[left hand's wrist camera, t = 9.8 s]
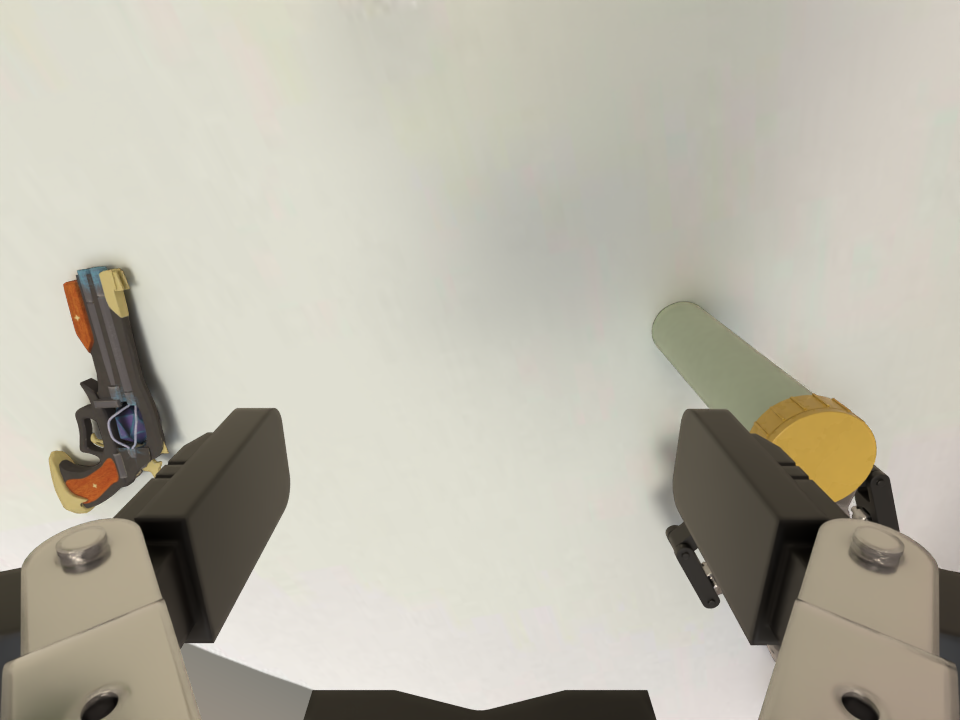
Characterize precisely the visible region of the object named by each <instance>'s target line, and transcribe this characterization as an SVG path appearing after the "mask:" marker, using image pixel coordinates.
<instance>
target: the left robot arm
mask: <svg viewBox="0 0 960 720" xmlns="http://www.w3.org/2000/svg"><path fill="white" fill-rule="evenodd" d="M289 493H290V474H289V467H288V460H287V453H286V446H285V439H284V432H283V425H282V419H281V415H280V413H279V411H278V410H277V409H276V408H237V409H235V410H234V411H233V412H232V413H231V414H230V415H229V416H228V417H227V418H226V419H225V420H224V421H223V422H222V424H221V425H220V426H219V427H218V428H217V429H216V430H215V431H214V432H213V433H206V434H204V435H202V436H201V437H199V438H197V439H195V440H193V441H192V442H190V443H188V444H186V445H185V446H183V447H182V448H181V449H180V450H179V451H178V452H177V453H176V454H175V455H174V456H173V457H172V458H171V459H170V460H169V461H168V465H165V466H164V467H163V468H162V469H161V470H160V471H159V472H158V473H157V474H156V475H155V478H152V479H151V480H150V481H149V482H148V483H147V484H146V485H145V486H144V487H143V488H142V489H141V490H140V491H139V492H138V493H137V494H136V495H135V496H134V497H133V498H132V499H131V500H130V501H129V502H128V503H127V504H126V505H125V506H124V507H123V508H122V509H121V510H120V511H119V512H118V513H117V514H116V515H115V516H114V517H113V518H108V519H100V520H95V521H90V522H86V523H83V524H80V525H77V526H74V527H71V528H69V529H67V530H64V531H62V532H60V533H58V534H56V535H54V536H52V537H51V538H49V539H47V540H46V541H44V542H43V543H42V544H40V545H39V546H38V547H36V548H35V549H34V550H33V551H32V552H31V553H30V554H29V555H28V557H27V558H26V559H25V561H24V563H23V565H22V568H17V569H12V570H7V571H2V572H0V720H202V719H201V715H200V712H199V709H198V706H197V702H196V699H195V696H194V693H193V690H192V686H191V683H190V680H189V677H188V674H187V670H186V667H185V664H184V661H183V657H182V654H181V651H180V649H181V647H182V646H183V644H184V643H214V642H215V640H216V638H217V636H218V634H219V632H220V630H221V628H222V627H223V625H224V623H225V621H226V619H227V617H228V615H229V613H230V612H231V610H232V608H233V606H234V604H235V602H236V600H237V598H238V597H239V595H240V593H241V591H242V589H243V587H244V585H245V583H246V582H247V580H248V578H249V576H250V574H251V572H252V570H253V568H254V567H255V565H256V563H257V561H258V559H259V557H260V555H261V553H262V552H263V550H264V548H265V546H266V544H267V542H268V540H269V539H270V537H271V535H272V533H273V531H274V529H275V527H276V525H277V524H278V522H279V520H280V518H281V516H282V514H283V512H284V510H285V508H286V506H287V503H288V499H289ZM673 494H674V500H675V504H676V507H677V509H678V512H679V513H680V515H681V517H682V519H683V521H684V523H685V524H686V526H687V528H688V530H689V532H690V534H691V536H692V537H693V539H694V541H695V543H696V545H697V547H698V549H699V550H700V552H701V554H702V556H703V558H704V560H705V561H706V563H707V565H708V567H709V569H710V571H711V573H712V574H713V576H714V578H715V580H716V582H717V584H718V586H719V587H720V589H721V591H722V593H723V595H724V597H725V598H726V600H727V602H728V604H729V606H730V608H731V610H732V611H733V613H734V615H735V617H736V619H737V621H738V623H739V624H740V626H741V628H742V630H743V632H744V634H745V636H746V637H747V639H748V641H749V643H750V645H781V648H780V651H779V654H778V657H777V661H776V664H775V667H774V670H773V673H772V677H771V680H770V683H769V686H768V690H767V693H766V696H765V699H764V702H763V706H762V709H761V712H760V715H759V719H758V720H960V573H958V572H953V571H948V570H943V569H939V568H938V565H937V563H936V561H935V559H934V558H933V557H932V555H931V554H930V553H929V552H928V551H927V550H926V549H925V548H924V547H922V546H921V545H920V544H918V543H917V542H916V541H914V540H913V539H911V538H909V537H908V536H906V535H904V534H902V533H900V532H898V531H896V530H893V529H891V528H889V527H886V526H883V525H880V524H877V523H874V522H870V521H865V520H860V519H852V518H850V517H849V516H848V515H847V514H846V513H845V512H844V511H843V510H842V509H841V508H840V507H839V506H838V505H837V504H836V503H835V502H834V501H833V500H832V499H831V498H830V497H829V496H828V495H827V494H826V493H825V492H824V491H823V490H822V489H821V488H820V487H819V486H818V485H817V484H816V483H815V482H814V481H813V480H809V476H808V475H807V474H806V473H805V472H804V471H803V470H802V469H801V468H800V467H799V466H796V463H795V462H794V461H793V460H792V459H791V458H790V457H789V456H788V455H787V454H786V453H785V452H784V451H783V450H782V448H781V447H779V446H777V445H776V444H774V443H772V442H770V441H768V440H767V439H765V438H763V437H761V436H760V435H758V434H756V433H750V432H749V431H748V430H747V429H746V428H745V427H744V426H743V425H742V424H741V423H740V422H739V421H738V420H737V418H736V417H735V416H734V415H733V414H732V413H731V412H730V411H729V410H727V409H687V410H686V411H685V412H684V414H683V416H682V420H681V426H680V433H679V440H678V447H677V454H676V461H675V468H674V474H673ZM304 720H656V717H655V714H654V710H653V707H652V704H651V700H650V697H649V694H648V691H647V690H564V691H560V692H556V693H552V694H548V695H544V696H540V697H536V698H532V699H528V700H524V701H521V702H517V703H513V704H509V705H505V706H501V707H497V708H493V709H489V710H471V709H467V708H463V707H459V706H455V705H451V704H447V703H443V702H439V701H436V700H432V699H428V698H424V697H420V696H416V695H412V694H408V693H404V692H400V691H396V690H313V691H312V694H311V697H310V700H309V704H308V707H307V710H306V714H305V717H304Z"/></svg>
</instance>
